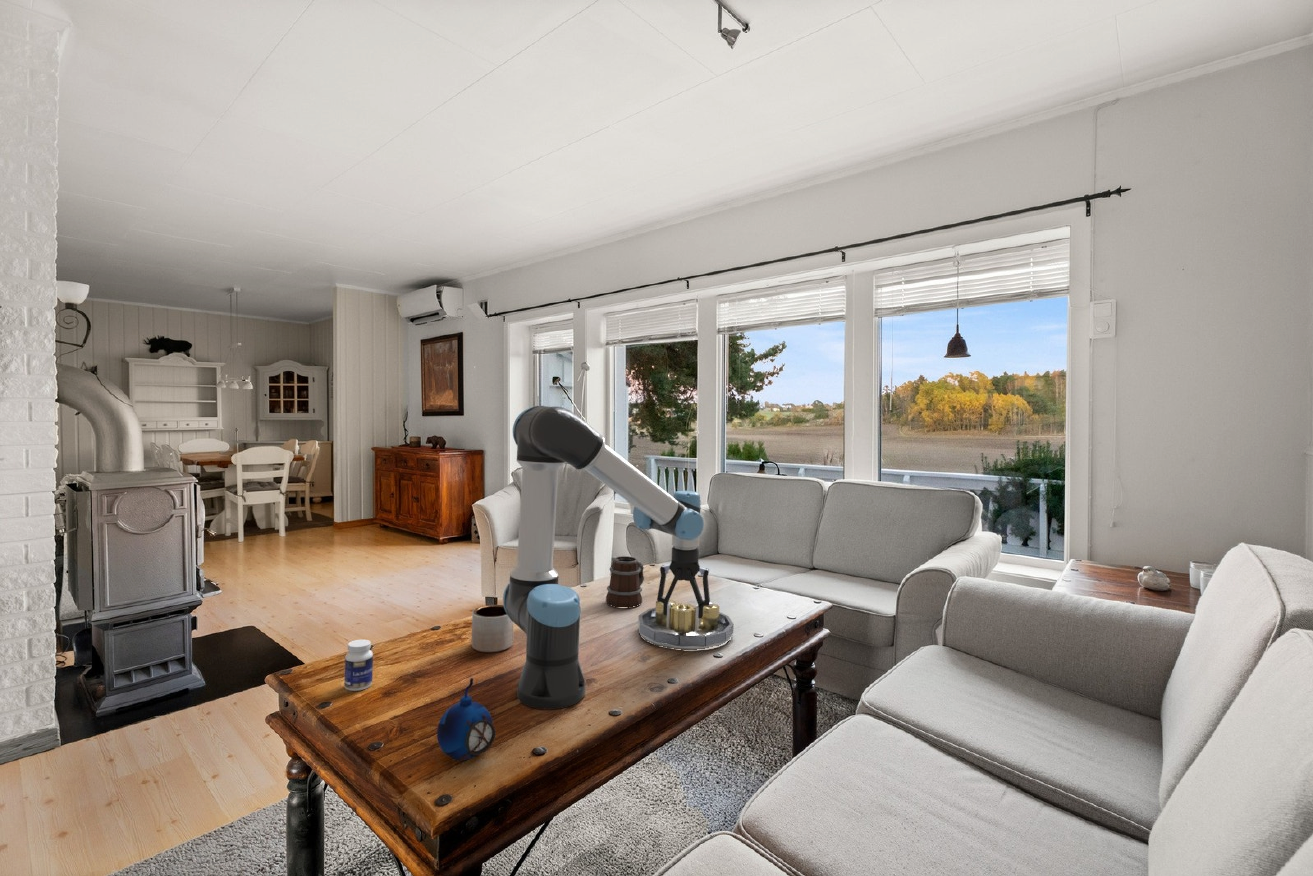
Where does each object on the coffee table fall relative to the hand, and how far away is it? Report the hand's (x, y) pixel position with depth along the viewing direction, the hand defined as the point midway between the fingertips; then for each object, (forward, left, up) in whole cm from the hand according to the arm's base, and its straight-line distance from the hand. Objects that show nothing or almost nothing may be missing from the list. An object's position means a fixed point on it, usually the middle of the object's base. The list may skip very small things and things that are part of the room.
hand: (682, 627), depth 173 cm
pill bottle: (-80, +16, -5) cm, 82 cm away
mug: (+7, +39, -5) cm, 40 cm away
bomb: (-69, -24, -5) cm, 73 cm away
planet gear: (0, 0, 0) cm, 0 cm away
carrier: (+5, +5, -4) cm, 9 cm away
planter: (-46, +24, -5) cm, 52 cm away
